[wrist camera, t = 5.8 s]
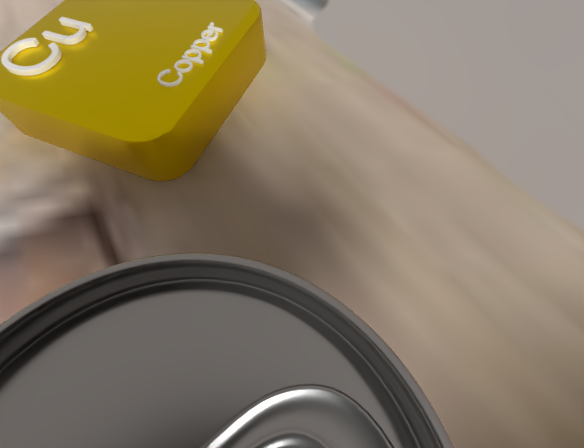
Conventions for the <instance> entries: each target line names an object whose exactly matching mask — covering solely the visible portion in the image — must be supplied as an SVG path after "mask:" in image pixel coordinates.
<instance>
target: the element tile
mask: <svg viewBox="0 0 584 448" xmlns="http://www.w3.org/2000/svg"><path fill="white" fill-rule="evenodd" d="M265 60H266V48H265V40H264V31H263V22H262V14H261V8H260V6H259V5H258V3H257V2H256V1H254V0H64V1H63V2H62V3H61V4H59V5H58V6H57V7H56V8H54V9H53V10H52V11H51V12H49V13H48V14H47V15H46V16H44V17H43V18H42V19H41V20H39V21H38V22H37V23H36V24H34V25H33V26H32V27H31V28H29V29H28V30H27V31H26V32H24V33H23V34H22V35H21V36H19V37H18V38H17V39H16V40H14V41H13V42H12V43H11V44H9V45H8V46H7V47H6V48H4V49H3V50H2V51H1V52H0V112H1V113H2V114H3V115H4V116H5V117H6V118H8V119H9V120H10V121H11V122H12V123H13V124H14V125H15V126H16V127H17V128H18V129H19V130H20V131H21V132H22V133H24V134H25V135H28V136H31V137H34V138H36V139H39V140H42V141H45V142H47V143H50V144H53V145H56V146H59V147H61V148H64V149H67V150H70V151H72V152H75V153H78V154H81V155H83V156H86V157H89V158H92V159H94V160H97V161H100V162H103V163H105V164H108V165H111V166H114V167H116V168H119V169H122V170H125V171H127V172H130V173H133V174H136V175H139V176H141V177H144V178H147V179H150V180H155V181H169V180H172V179H175V178H178V177H180V176H182V175H183V174H185V173H186V172H188V171H189V170H190V169H191V168H192V167H193V166H194V164H195V163H196V162H197V160H198V159H199V158H200V156H201V155H202V153H203V152H204V150H205V149H206V147H207V146H208V145H209V143H210V142H211V140H212V139H213V137H214V136H215V134H216V133H217V132H218V130H219V129H220V127H221V126H222V124H223V123H224V121H225V120H226V118H227V117H228V116H229V114H230V113H231V111H232V110H233V108H234V107H235V105H236V104H237V103H238V101H239V100H240V98H241V97H242V95H243V94H244V92H245V91H246V90H247V88H248V87H249V85H250V84H251V82H252V81H253V79H254V78H255V77H256V75H257V74H258V72H259V71H260V69H261V68H262V66H263V65H264V63H265Z"/></svg>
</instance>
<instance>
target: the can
mask: <svg viewBox="0 0 584 448" xmlns="http://www.w3.org/2000/svg"><path fill="white" fill-rule="evenodd" d="M0 448H454V447H453V445H452V443H451V441H450V438H449V436H448V434H447V432H446V430H445V429H444V427H443V425H442V423H441V421H440V419H439V417H438V416H437V414H436V412H435V410H434V409H433V407H432V405H431V403H430V402H429V400H428V399H427V397H426V395H425V394H424V392H423V391H422V389H421V388H420V386H419V385H418V383H417V382H416V380H415V379H414V378H413V376H412V375H411V373H410V372H409V371H408V369H407V368H406V367H405V365H404V364H403V363H402V361H401V360H400V359H399V358H398V357H397V355H396V354H395V353H394V352H393V351H392V349H391V348H390V347H389V346H388V345H387V344H386V343H385V342H384V340H383V339H382V338H381V337H380V336H379V335H378V334H377V333H376V332H375V331H374V330H373V329H372V328H371V327H370V326H369V325H368V324H366V323H365V322H364V321H363V320H362V319H361V318H360V317H359V316H357V315H356V314H355V313H354V312H353V311H352V310H350V309H349V308H348V307H346V306H345V305H344V304H343V303H341V302H340V301H338V300H337V299H336V298H334V297H333V296H331V295H330V294H328V293H327V292H325V291H324V290H322V289H320V288H319V287H317V286H315V285H313V284H312V283H310V282H308V281H306V280H304V279H302V278H300V277H298V276H296V275H294V274H291V273H289V272H287V271H284V270H282V269H279V268H277V267H274V266H271V265H268V264H265V263H261V262H258V261H254V260H250V259H245V258H240V257H235V256H228V255H221V254H209V253H180V254H168V255H159V256H152V257H147V258H141V259H137V260H132V261H128V262H125V263H121V264H117V265H114V266H111V267H108V268H105V269H102V270H99V271H96V272H94V273H91V274H89V275H86V276H84V277H81V278H79V279H77V280H75V281H72V282H70V283H68V284H66V285H64V286H62V287H60V288H58V289H56V290H54V291H52V292H51V293H49V294H47V295H45V296H43V297H42V298H40V299H38V300H37V301H35V302H33V303H32V304H30V305H29V306H27V307H25V308H24V309H22V310H21V311H19V312H18V313H16V314H15V315H13V316H12V317H10V318H9V319H8V320H6V321H5V322H4V323H2V324H1V325H0Z"/></svg>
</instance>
